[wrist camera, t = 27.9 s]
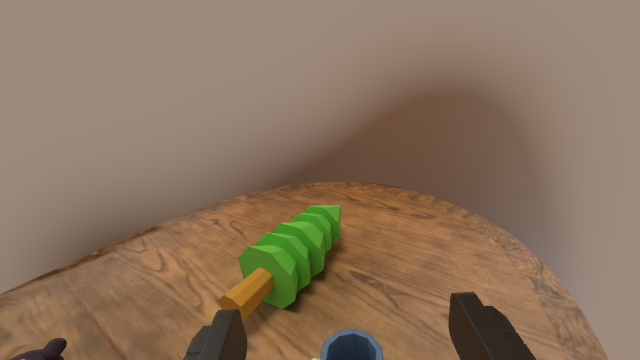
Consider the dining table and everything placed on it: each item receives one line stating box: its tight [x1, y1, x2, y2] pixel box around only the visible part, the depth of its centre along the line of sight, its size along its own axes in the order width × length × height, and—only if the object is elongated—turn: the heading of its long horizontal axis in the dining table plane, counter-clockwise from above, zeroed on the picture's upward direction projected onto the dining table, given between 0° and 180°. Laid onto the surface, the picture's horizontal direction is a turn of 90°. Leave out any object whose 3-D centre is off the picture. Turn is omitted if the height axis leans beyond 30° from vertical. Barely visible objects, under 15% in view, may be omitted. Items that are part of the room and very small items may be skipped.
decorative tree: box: [218, 205, 340, 322], centre depth 52 cm, size 11×12×30 cm
